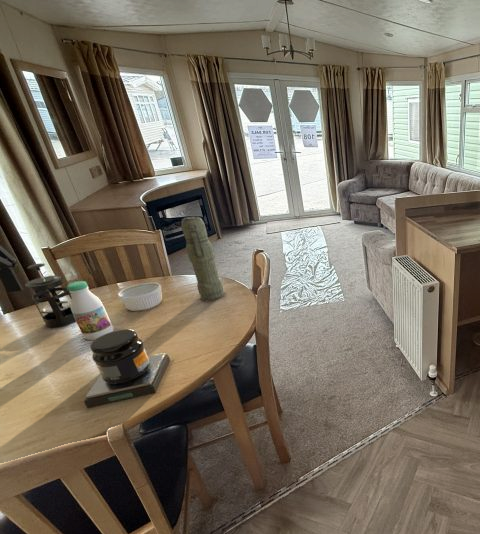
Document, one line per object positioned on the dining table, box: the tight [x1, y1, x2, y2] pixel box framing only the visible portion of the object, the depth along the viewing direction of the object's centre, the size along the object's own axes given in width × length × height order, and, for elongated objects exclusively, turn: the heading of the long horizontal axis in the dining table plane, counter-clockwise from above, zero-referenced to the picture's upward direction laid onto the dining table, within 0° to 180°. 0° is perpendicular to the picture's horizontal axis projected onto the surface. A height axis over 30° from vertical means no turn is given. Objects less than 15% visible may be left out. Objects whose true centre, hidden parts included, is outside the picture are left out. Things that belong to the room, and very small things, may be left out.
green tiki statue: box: [181, 215, 225, 302], centre depth 139 cm, size 9×12×35 cm
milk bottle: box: [66, 280, 114, 341], centre depth 116 cm, size 8×8×20 cm
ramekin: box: [117, 282, 163, 312], centre depth 137 cm, size 13×13×7 cm
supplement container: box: [89, 328, 150, 384], centre depth 95 cm, size 10×10×12 cm
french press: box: [24, 263, 77, 329], centre depth 122 cm, size 12×9×23 cm
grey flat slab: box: [85, 352, 166, 399], centre depth 98 cm, size 14×14×1 cm
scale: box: [83, 353, 171, 409], centre depth 98 cm, size 15×15×2 cm
